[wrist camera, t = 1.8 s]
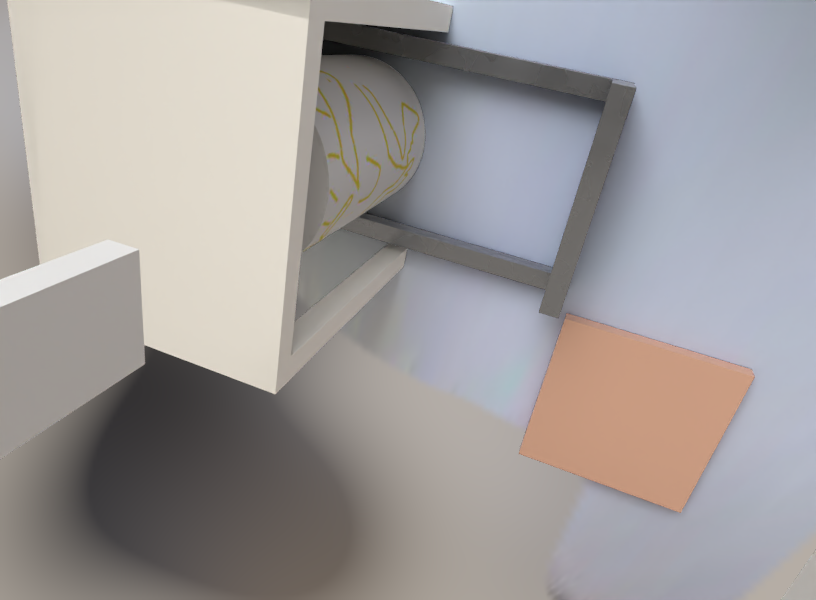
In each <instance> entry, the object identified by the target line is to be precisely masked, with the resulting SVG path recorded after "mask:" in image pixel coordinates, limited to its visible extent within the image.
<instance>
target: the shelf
mask: <svg viewBox="0 0 816 600" xmlns="http://www.w3.org/2000/svg"><path fill="white" fill-rule="evenodd" d="M7 4H8V12H9V20H10V29H11V37H12V45H13V51H14V61H15V69H16V77H17V85H18V93H19V101H20V109H21V117H22V125H23V133H24V141H25V149H26V157H27V164H28V173H29V182H30V189H31V197H32V206H33V213H34V221H35V230H36V238H37V246H38V254H39V262H40V264H43V263H46V262H49V261H51V260H54V259H57V258H59V257H62V256H65V255H67V254H70V253H73V252H76V251H78V250H81V249H84V248H86V247H89V246H92V245H94V244H97V243H100V242H102V241H105V240H111V241H114V242H118V243H121V244H124V245H127V246H130V247H133V248H136V249H139V255H140V275H141V295H142V314H143V334H144V345H146V346H149V347H152V348H154V349H157V350H159V351H162V352H165V353H168V354H170V355H173V356H175V357H178V358H180V359H183V360H186V361H188V362H191V363H194V364H196V365H199V366H202V367H204V368H207V369H210V370H213V371H215V372H218V373H220V374H223V375H225V376H228V377H231V378H233V379H236V380H239V381H241V382H244V383H247V384H250V385H252V386H255V387H257V388H260V389H263V390H265V391H268V392H270V393H273V394H276V393H277V392H278V391H279V390H280V389H281V388H282V387H283V386H284V385H285V384H286V383H287V382H288V381H289V380H290V379H291V378H292V377H293V376H294V375H295V374H296V373H297V372H298V371H299V370H300V369H301V368H302V367H303V366H304V365H305V364H306V363H307V362H308V361H309V360H310V359H311V358H312V357H313V356H314V355H315V354H316V353H317V352H318V351H319V350H320V349H321V348H322V347H323V346H324V345H325V344H326V343H327V342H328V341H329V340H330V339H331V338H332V337H333V336H334V335H336V334H337V333H338V332H339V331H340V330H341V329H342V328H343V327H344V326H345V325H346V324H347V323H348V322H349V321H350V320H351V319H352V318H353V317H354V316H355V315H356V314H357V313H358V312H359V311H360V310H361V309H362V308H363V307H364V306H365V305H366V304H367V303H368V302H369V301H370V300H371V299H372V298H373V297H374V296H375V295H376V294H377V293H378V292H379V291H380V290H381V289H382V288H383V287H384V286H385V285H386V284H387V283H388V282H389V281H390V280H391V279H392V278H393V277H394V276H395V275H396V274H397V273H398V272H399V271H400V270H401V269H402V268H403V267H404V263H405V257H406V252H407V248H404V247H400V246H397V245H394V244H390V243H388V244H387V245H386V246H385V247H383V248H382V249H381V250H380V251H379V252H377V253H376V254H375V255H374V256H373V257H371V258H370V259H369V260H368V261H367V262H365V263H364V264H363V265H362V266H361V267H359V268H358V269H357V270H356V271H355V272H353V273H352V274H351V275H350V276H349V277H347V278H346V279H345V280H344V281H343V282H341V283H340V284H339V285H338V286H337V287H335V288H334V289H333V290H332V291H331V292H329V293H328V294H327V295H326V296H325V297H323V298H322V299H321V300H320V301H319V302H317V303H316V304H315V305H314V306H313V307H311V308H310V309H309V310H308V311H307V312H305V313H304V314H303V315H302V316H301V317H299V318H298V319H297V320H296V321H295V311H296V301H297V291H298V281H299V271H300V262H301V252H302V242H303V232H304V222H305V212H306V202H307V192H308V182H309V172H310V162H311V152H312V142H313V132H314V122H315V112H316V102H317V92H318V82H319V73H320V63H321V53H322V43H323V33H324V23H325V21H331V22H342V23H353V24H364V25H374V26H385V27H396V28H407V29H418V30H429V31H440V32H448V31H449V26H450V21H451V16H452V10H453V6H450V5H446V4H442V3H438V2H434V1H430V0H7ZM294 321H295V322H294Z"/></svg>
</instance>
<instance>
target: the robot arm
mask: <svg viewBox="0 0 816 600" xmlns="http://www.w3.org/2000/svg"><path fill="white" fill-rule="evenodd" d="M144 364H145V354H144V334H143V314H142V295H141V275H140V255H139V249H136V248H133V247H130V246H127V245H124V244H121V243H118V242H114V241H111V240H105V241H102V242H100V243H97V244H94V245H92V246H89V247H86V248H84V249H81V250H78V251H76V252H73V253H70V254H67V255H65V256H62V257H59V258H57V259H54V260H51V261H49V262H46V263H43V264H40V265H38V266H35V267H32V268H30V269H27V270H24V271H22V272H19V273H17V274H14V275H11V276H8V277H6V278H3V279H0V459H2V458H3V457H5V456H6V455H8V454H9V453H11V452H12V451H14V450H15V449H17V448H18V447H20V446H21V445H23V444H24V443H26V442H27V441H29V440H31V439H32V438H34V437H35V436H37V435H38V434H40V433H41V432H42V431H44V430H45V429H47V428H49V427H50V426H52V425H53V424H55V423H56V422H58V421H59V420H61V419H62V418H64V417H65V416H67V415H68V414H70V413H71V412H73V411H74V410H76V409H77V408H79V407H80V406H82V405H83V404H85V403H87V402H88V401H89V400H91V399H93V398H94V397H96V396H97V395H98V394H100V393H102V392H103V391H105V390H106V389H108V388H109V387H111V386H112V385H114V384H115V383H117V382H118V381H120V380H121V379H123V378H124V377H126V376H127V375H129V374H130V373H132V372H133V371H135V370H136V369H138V368H139V367H141V366H142V365H144ZM781 600H816V550H815V551H814V553H813V554H812V556H811V557H810V558H809V560H808V561H807V563H806V564H805V566H804V567H803V569H802V570H801V572H800V573H799V574H798V576H797V577H796V579H795V580H794V581H793V583H792V584H791V586H790V587H789V589H788V590H787V592H786V593H785V594H784V596H783V597H782V599H781Z"/></svg>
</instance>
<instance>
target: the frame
mask: <svg viewBox="0 0 816 600" xmlns="http://www.w3.org/2000/svg"><path fill="white" fill-rule="evenodd" d="M323 39H324V40H329V41H333V42H338V43H343V44H347V45H352V46H356V47H361V48H365V49H370V50H374V51H379V52H383V53H388V54H392V55H397V56H401V57H406V58H410V59H415V60H419V61H424V62H429V63H433V64H438V65H442V66H447V67H451V68H456V69H460V70H465V71H469V72H474V73H478V74H483V75H487V76H492V77H496V78H501V79H505V80H510V81H515V82H519V83H524V84H528V85H533V86H537V87H542V88H546V89H551V90H555V91H560V92H564V93H569V94H573V95H578V96H582V97H587V98H591V99H596V100H601V101H605V102H606V103H605V106H604V109H603V112H602V115H601V119H600V122H599V125H598V128H597V131H596V134H595V137H594V140H593V144H592V147H591V150H590V153H589V156H588V159H587V162H586V165H585V169H584V172H583V175H582V178H581V181H580V184H579V187H578V191H577V194H576V197H575V200H574V203H573V206H572V209H571V212H570V216H569V219H568V222H567V225H566V228H565V231H564V234H563V238H562V241H561V244H560V247H559V250H558V253H557V256H556V259H555V263H554V266H553V267H550V266H547V265H543V264H540V263H536V262H533V261H529V260H526V259H523V258H519V257H516V256H512V255H509V254H505V253H502V252H498V251H495V250H491V249H488V248H484V247H481V246H478V245H474V244H471V243H467V242H464V241H460V240H457V239H453V238H450V237H446V236H443V235H439V234H436V233H433V232H429V231H426V230H422V229H419V228H415V227H412V226H408V225H405V224H401V223H398V222H394V221H391V220H388V219H384V218H381V217H377V216H374V215H370V214H367V213H363V214H362V215H360V216H359V217H357V218H356V219H354V220H352V221H351V222H349V223H348V224H346V225H345V226H343V227H341V228H340V229H344V230H347V231H351V232H354V233H357V234H361V235H364V236H367V237H371V238H374V239H377V240H381V241H384V242H387V243H391V244H394V245H397V246H401V247H404V248H407V249H411V250H414V251H418V252H421V253H424V254H428V255H431V256H434V257H438V258H441V259H444V260H448V261H451V262H454V263H458V264H461V265H464V266H468V267H471V268H475V269H478V270H481V271H485V272H488V273H491V274H495V275H498V276H501V277H505V278H508V279H511V280H515V281H518V282H521V283H525V284H528V285H531V286H535V287H538V288H542V289H545V290H546V291H545V294H544V297H543V300H542V303H541V306H540V310H539V313H543V314H546V315H549V316H552V317H556V318H559V315H560V312H561V309H562V306H563V303H564V300H565V297H566V294H567V291H568V288H569V285H570V282H571V279H572V276H573V274H574V271H575V268H576V265H577V262H578V259H579V256H580V253H581V250H582V247H583V244H584V241H585V238H586V235H587V232H588V229H589V226H590V223H591V220H592V217H593V215H594V212H595V209H596V206H597V203H598V200H599V197H600V194H601V191H602V188H603V185H604V182H605V179H606V176H607V173H608V170H609V167H610V164H611V161H612V158H613V156H614V153H615V150H616V147H617V144H618V141H619V138H620V135H621V132H622V129H623V126H624V123H625V120H626V117H627V114H628V111H629V108H630V105H631V102H632V99H633V97H634V94H635V91H636V86H635V83H633V82H628V81H623V80H618V79H614V78H609V77H604V76H600V75H595V74H590V73H585V72H581V71H576V70H571V69H566V68H562V67H557V66H552V65H548V64H543V63H538V62H533V61H529V60H524V59H519V58H515V57H510V56H505V55H500V54H496V53H491V52H486V51H481V50H477V49H472V48H467V47H463V46H458V45H453V44H448V43H444V42H439V41H434V40H429V39H425V38H420V37H415V36H411V35H406V34H401V33H396V32H392V31H387V30H382V29H377V28H373V27H368V26H363V25H359V24H353V23H342V22H331V21H325V23H324V33H323Z"/></svg>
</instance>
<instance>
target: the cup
mask: <svg viewBox="0 0 816 600" xmlns="http://www.w3.org/2000/svg"><path fill="white" fill-rule="evenodd" d="M424 145H425V123H424V117H423V113H422V109H421V106H420V103H419V101H418V99H417V96H416V95H415V93H414V91H413V89H412V88H411V86H410V85H409V83H408V82H407V81H406V80H405V79H404V77H403V76H402V75H401V74H400V73H399V72H398V71H396V70H395V69H394V68H393V67H391V66H390V65H388V64H386V63H385V62H383V61H381V60H379V59H376V58H373V57H370V56H365V55H321V63H320V73H319V82H318V92H317V102H316V112H315V122H314V132H313V142H312V152H311V162H310V172H309V182H308V192H307V202H306V212H305V222H304V232H303V242H302V252H304V251H305V250H307V249H308V248H310V247H312V246H313V245H315V244H316V243H318V242H319V241H321V240H323V239H324V238H326V237H327V236H329V235H330V234H332V233H334V232H335V231H337V230H338V229H340V228H341V227H343V226H345V225H346V224H348V223H349V222H351V221H352V220H354V219H356V218H357V217H359V216H360V215H362V214H363V213H365V212H366V211H368V210H370V209H371V208H373V207H374V206H376V205H377V204H379V203H381V202H382V201H384V200H385V199H387V198H388V197H390V196H392V195H393V194H395V193H396V192H398V191H399V190H400V189H402V188H403V187H404V186H405V185H406V184H407V183H408V182H409V180H410V179H411V178H412V176H413V175H414V173H415V172H416V170H417V168H418V166H419V164H420V161H421V158H422V155H423V151H424ZM302 252H301V253H302Z"/></svg>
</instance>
